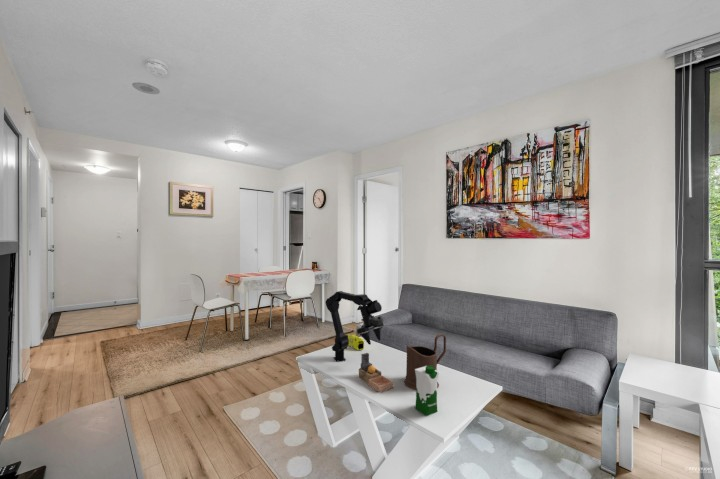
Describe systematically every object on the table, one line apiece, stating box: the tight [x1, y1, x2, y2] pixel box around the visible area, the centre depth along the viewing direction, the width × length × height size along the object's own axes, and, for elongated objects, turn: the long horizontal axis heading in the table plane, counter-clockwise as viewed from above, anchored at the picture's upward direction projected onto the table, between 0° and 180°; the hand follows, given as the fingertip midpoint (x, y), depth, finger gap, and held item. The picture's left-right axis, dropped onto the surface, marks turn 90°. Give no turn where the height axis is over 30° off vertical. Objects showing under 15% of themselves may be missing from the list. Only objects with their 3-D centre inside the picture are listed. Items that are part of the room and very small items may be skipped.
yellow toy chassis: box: [346, 333, 365, 351], centre depth 222 cm, size 16×6×8 cm, turn 33°
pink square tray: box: [367, 375, 394, 393], centre depth 163 cm, size 9×9×3 cm
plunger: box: [360, 352, 373, 371], centre depth 174 cm, size 4×5×8 cm
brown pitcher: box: [403, 333, 447, 391], centre depth 169 cm, size 18×24×25 cm
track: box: [358, 367, 382, 385], centre depth 171 cm, size 10×8×5 cm
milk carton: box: [414, 366, 440, 417], centre depth 142 cm, size 9×9×20 cm
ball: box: [368, 364, 376, 373], centre depth 170 cm, size 4×4×4 cm
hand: (374, 342), depth 181 cm, fingers open, 9 cm apart
